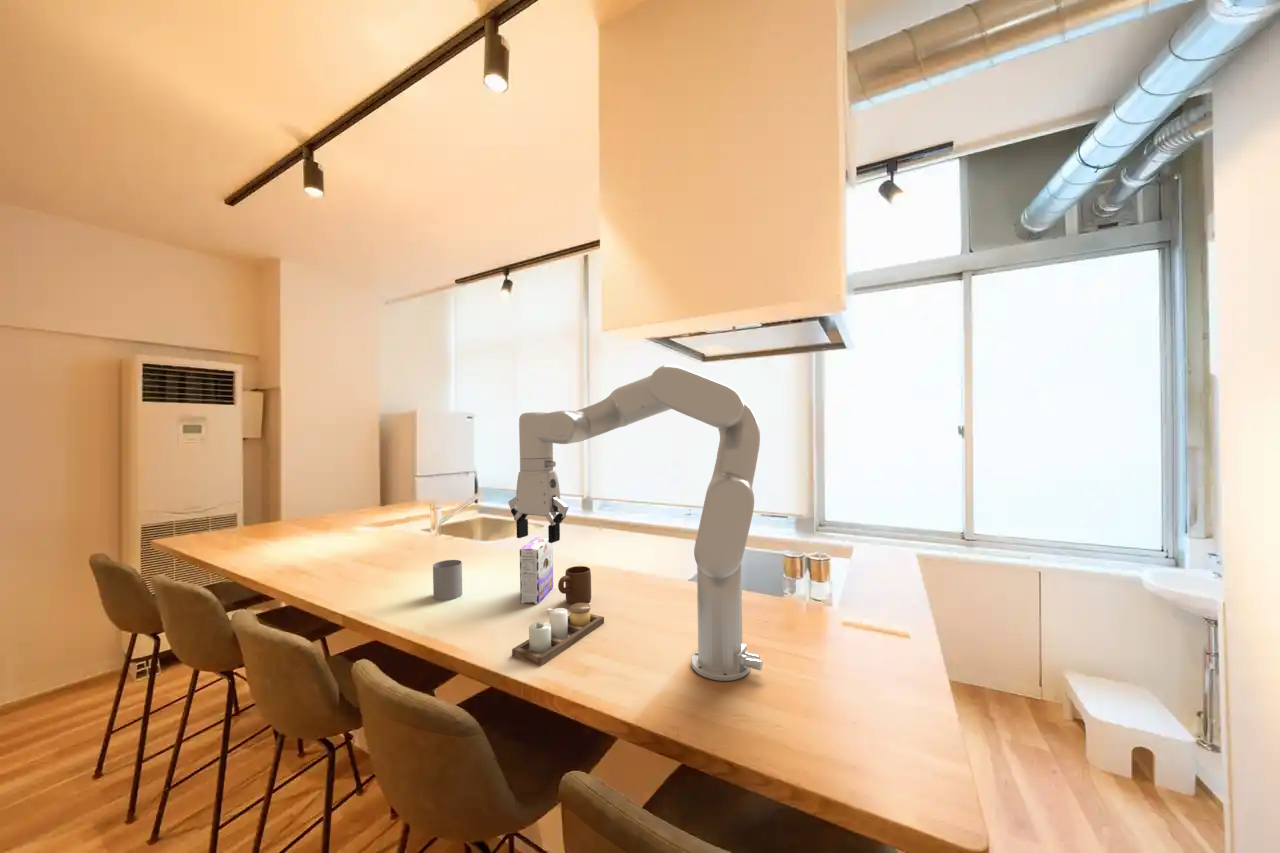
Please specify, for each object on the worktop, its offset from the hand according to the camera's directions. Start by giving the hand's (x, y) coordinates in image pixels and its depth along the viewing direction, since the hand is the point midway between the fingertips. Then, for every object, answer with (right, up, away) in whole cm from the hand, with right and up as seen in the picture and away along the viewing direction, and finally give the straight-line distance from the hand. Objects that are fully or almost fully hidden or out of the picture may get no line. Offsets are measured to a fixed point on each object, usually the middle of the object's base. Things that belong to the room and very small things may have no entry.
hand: (538, 539), depth 108 cm
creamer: (+4, -26, +7) cm, 27 cm away
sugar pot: (+1, -26, 0) cm, 26 cm away
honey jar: (+8, -26, +14) cm, 30 cm away
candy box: (-8, -26, +36) cm, 45 cm away
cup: (-36, -27, +37) cm, 58 cm away
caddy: (+4, -26, +7) cm, 27 cm away
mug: (+4, -26, +29) cm, 39 cm away
